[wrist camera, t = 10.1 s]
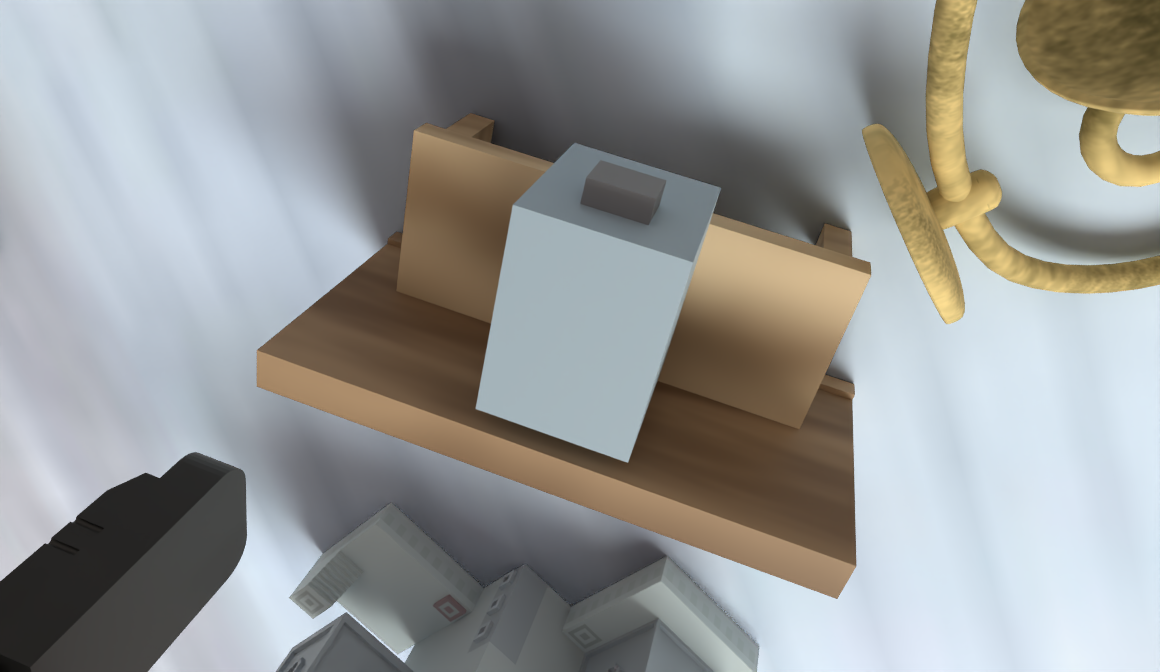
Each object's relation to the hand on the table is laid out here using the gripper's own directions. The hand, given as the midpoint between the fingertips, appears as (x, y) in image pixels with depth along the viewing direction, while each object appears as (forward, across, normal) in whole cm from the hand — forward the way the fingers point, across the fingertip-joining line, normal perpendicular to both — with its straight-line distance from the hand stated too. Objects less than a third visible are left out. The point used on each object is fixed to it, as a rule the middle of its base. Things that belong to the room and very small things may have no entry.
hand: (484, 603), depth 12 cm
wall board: (+22, +2, +7) cm, 23 cm away
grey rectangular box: (+18, +2, +3) cm, 18 cm away
